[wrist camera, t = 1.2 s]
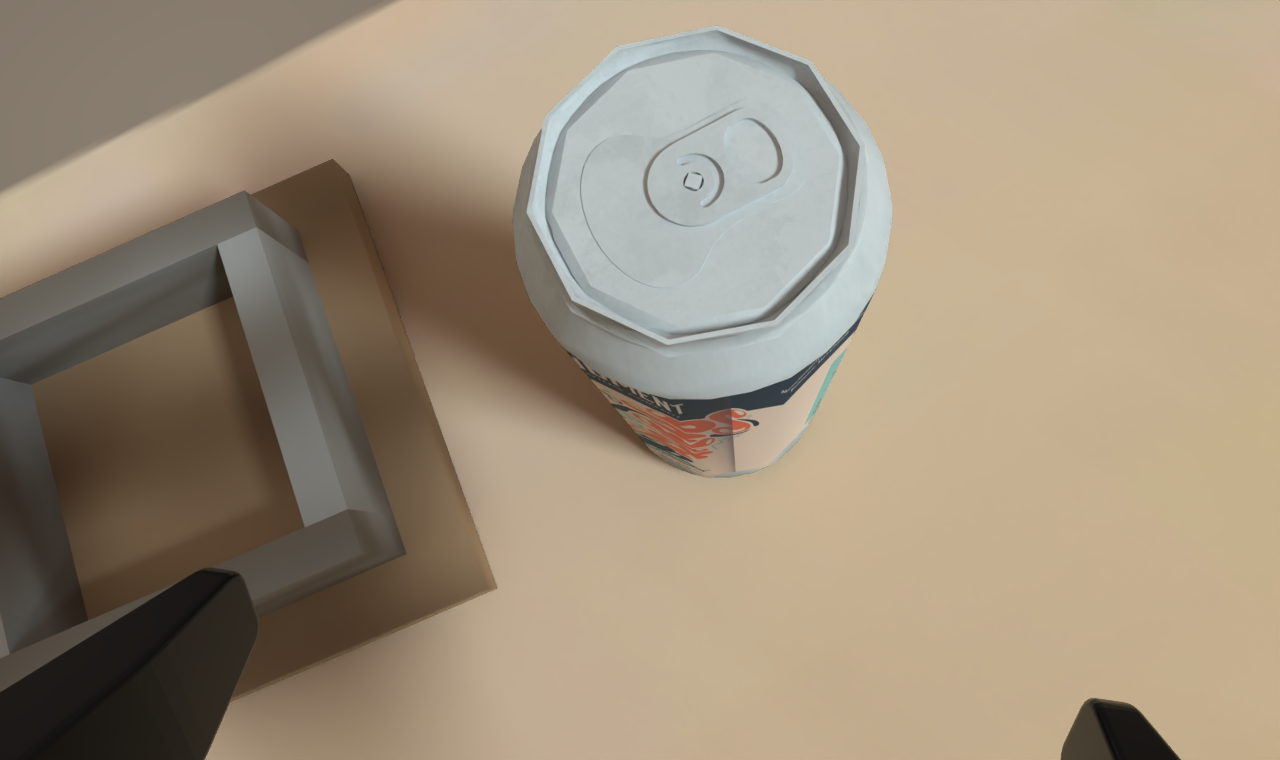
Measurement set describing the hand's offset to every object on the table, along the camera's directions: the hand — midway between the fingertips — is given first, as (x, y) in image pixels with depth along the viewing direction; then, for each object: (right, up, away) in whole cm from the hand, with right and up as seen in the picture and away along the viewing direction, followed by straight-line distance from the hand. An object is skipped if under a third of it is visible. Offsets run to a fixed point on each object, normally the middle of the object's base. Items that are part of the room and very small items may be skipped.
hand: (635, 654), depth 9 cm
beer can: (+2, +3, +13) cm, 13 cm away
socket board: (-11, +1, +14) cm, 18 cm away
